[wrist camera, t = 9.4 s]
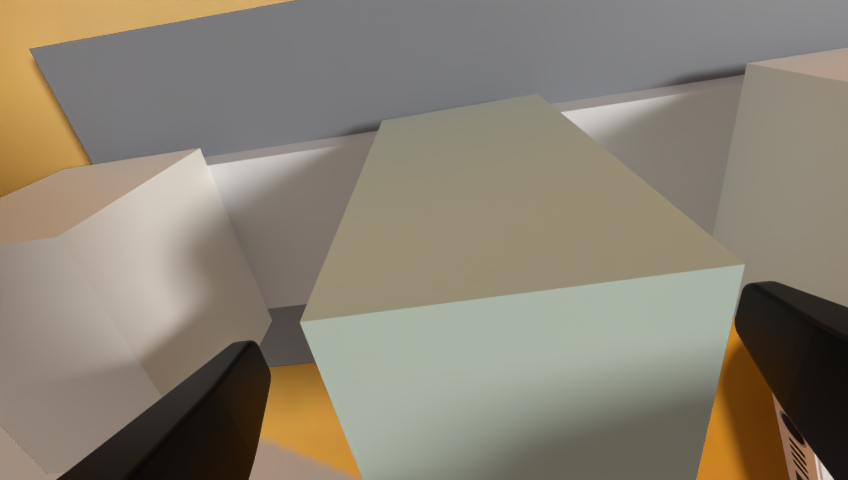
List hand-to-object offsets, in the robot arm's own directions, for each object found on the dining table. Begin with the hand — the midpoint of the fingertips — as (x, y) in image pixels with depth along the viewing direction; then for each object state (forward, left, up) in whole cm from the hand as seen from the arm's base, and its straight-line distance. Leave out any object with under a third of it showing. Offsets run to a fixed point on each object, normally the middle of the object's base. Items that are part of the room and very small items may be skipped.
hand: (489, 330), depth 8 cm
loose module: (0, 0, -5) cm, 5 cm away
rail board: (0, 0, -7) cm, 7 cm away
